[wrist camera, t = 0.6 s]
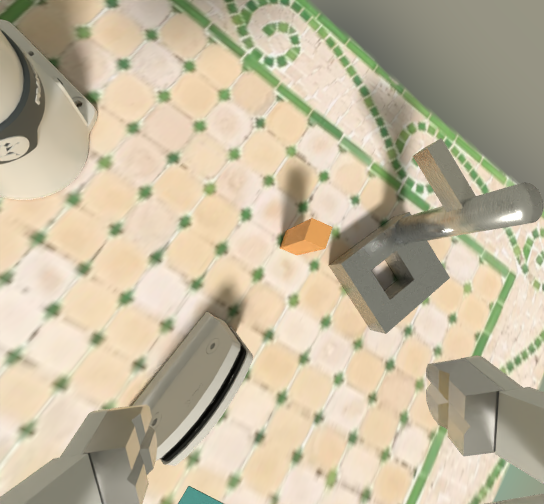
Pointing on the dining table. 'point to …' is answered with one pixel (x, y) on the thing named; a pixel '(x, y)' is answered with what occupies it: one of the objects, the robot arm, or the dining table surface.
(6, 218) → the dining table surface
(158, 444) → the grey rounded block
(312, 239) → the orange rectangular block
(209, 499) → the place mat
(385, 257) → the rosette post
